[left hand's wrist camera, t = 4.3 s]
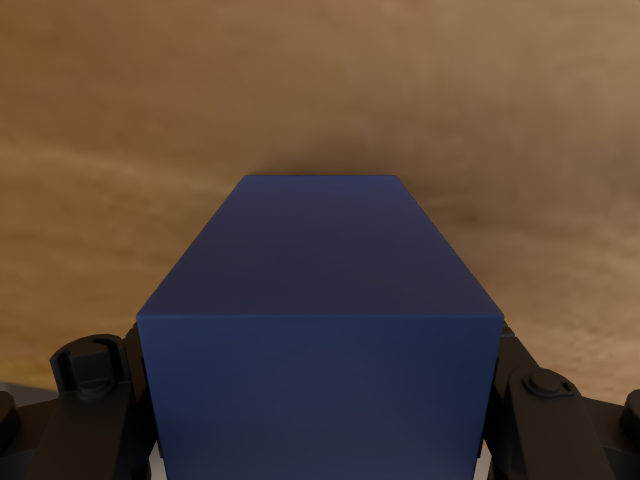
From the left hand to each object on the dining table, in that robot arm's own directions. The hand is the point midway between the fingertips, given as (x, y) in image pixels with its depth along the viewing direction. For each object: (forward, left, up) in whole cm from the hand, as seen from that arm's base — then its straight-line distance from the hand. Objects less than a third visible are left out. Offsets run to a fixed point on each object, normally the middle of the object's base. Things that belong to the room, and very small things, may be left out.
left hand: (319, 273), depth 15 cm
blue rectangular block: (0, 0, -2) cm, 2 cm away
